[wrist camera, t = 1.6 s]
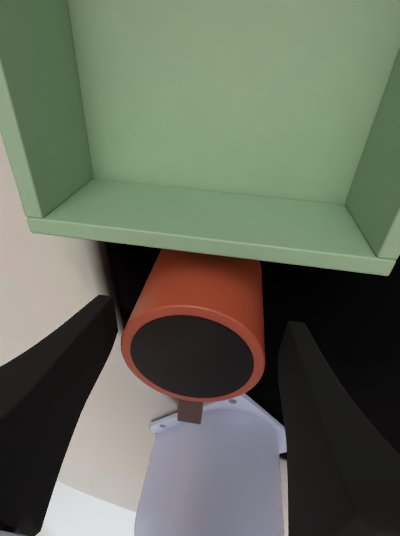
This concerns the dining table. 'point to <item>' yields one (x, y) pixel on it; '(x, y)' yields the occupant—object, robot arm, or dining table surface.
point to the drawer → (209, 125)
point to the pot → (198, 329)
